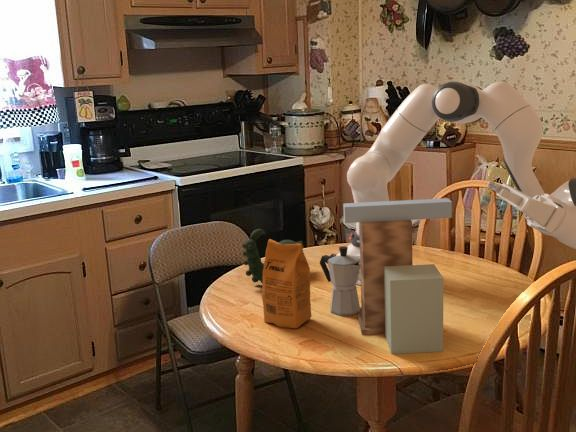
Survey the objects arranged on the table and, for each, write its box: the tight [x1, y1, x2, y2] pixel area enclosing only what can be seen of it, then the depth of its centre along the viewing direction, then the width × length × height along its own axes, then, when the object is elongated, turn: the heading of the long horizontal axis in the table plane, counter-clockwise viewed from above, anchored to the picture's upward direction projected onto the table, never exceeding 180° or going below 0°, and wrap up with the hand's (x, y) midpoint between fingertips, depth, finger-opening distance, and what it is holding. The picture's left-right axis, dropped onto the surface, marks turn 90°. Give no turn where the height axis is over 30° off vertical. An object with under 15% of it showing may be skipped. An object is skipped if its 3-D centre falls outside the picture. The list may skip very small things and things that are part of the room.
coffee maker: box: [319, 245, 362, 317], centre depth 178 cm, size 15×9×18 cm, turn 44°
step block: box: [384, 263, 444, 355], centre depth 155 cm, size 12×10×18 cm
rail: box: [342, 197, 453, 224], centre depth 161 cm, size 26×4×4 cm, turn 90°
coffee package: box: [261, 238, 312, 329], centre depth 172 cm, size 10×12×22 cm
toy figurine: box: [241, 228, 304, 284], centre depth 205 cm, size 10×19×26 cm
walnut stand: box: [356, 220, 413, 335], centre depth 165 cm, size 14×11×28 cm
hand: (494, 187), depth 157 cm, fingers open, 8 cm apart
